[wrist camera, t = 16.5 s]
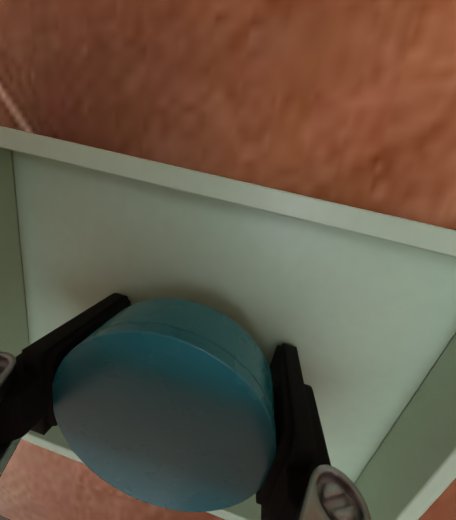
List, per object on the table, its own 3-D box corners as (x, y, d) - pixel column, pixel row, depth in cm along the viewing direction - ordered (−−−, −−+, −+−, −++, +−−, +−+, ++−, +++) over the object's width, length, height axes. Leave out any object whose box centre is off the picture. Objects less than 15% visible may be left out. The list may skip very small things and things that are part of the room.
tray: (34, 384, 13) (-17, 425, 11) (11, 131, 9) (-82, 107, 6) (346, 498, 11) (367, 576, 9) (515, 247, 7) (644, 273, 5)
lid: (300, 328, 7) (315, 377, 5) (250, 468, 9) (247, 539, 7) (98, 275, 7) (43, 301, 5) (96, 418, 9) (55, 471, 7)
